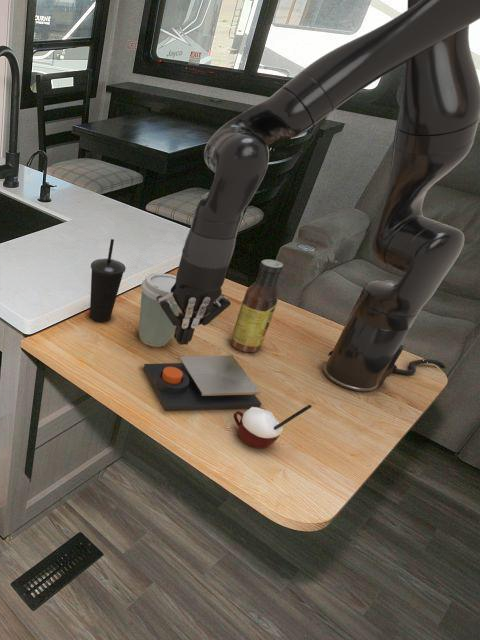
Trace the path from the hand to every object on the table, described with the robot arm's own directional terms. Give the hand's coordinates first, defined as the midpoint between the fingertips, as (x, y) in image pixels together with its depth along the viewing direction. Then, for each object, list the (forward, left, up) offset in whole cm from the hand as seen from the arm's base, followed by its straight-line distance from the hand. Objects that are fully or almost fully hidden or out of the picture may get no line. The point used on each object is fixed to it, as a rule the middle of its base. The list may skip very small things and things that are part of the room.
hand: (181, 342), depth 96 cm
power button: (0, 0, -9) cm, 9 cm away
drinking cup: (+7, -27, -12) cm, 30 cm away
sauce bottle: (-22, -14, -12) cm, 29 cm away
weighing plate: (-9, 0, -8) cm, 12 cm away
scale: (-6, 0, -11) cm, 13 cm away
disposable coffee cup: (-3, -17, -12) cm, 21 cm away
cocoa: (-10, +15, -12) cm, 21 cm away
